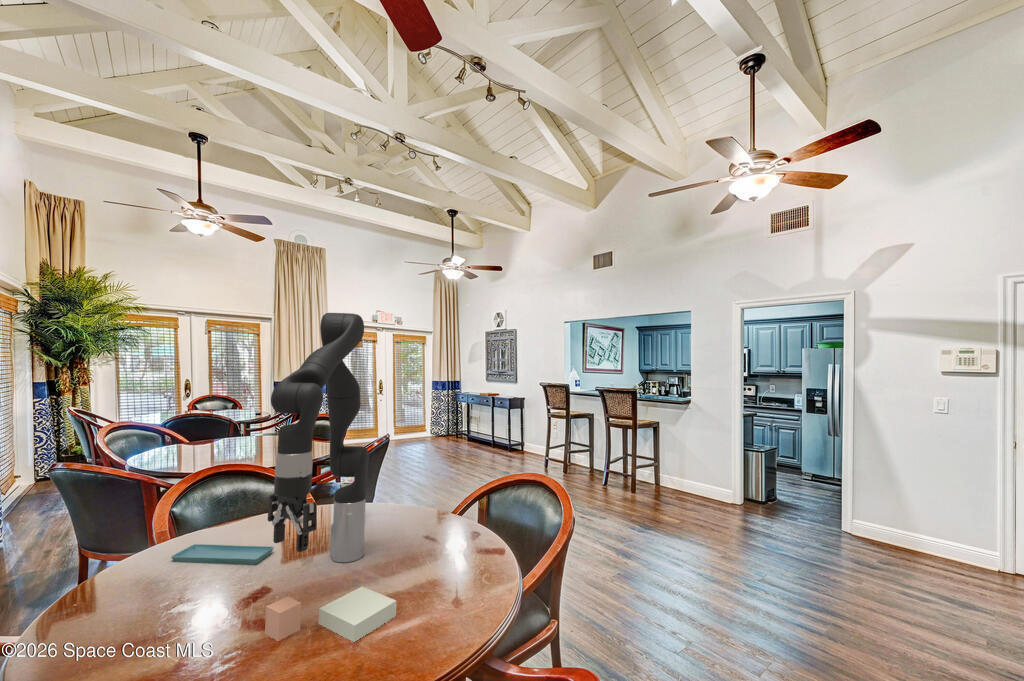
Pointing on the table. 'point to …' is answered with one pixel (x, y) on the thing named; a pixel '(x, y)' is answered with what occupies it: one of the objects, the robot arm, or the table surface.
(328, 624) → the sage base block
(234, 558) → the teal serving tray
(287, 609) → the terracotta block
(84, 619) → the table surface
